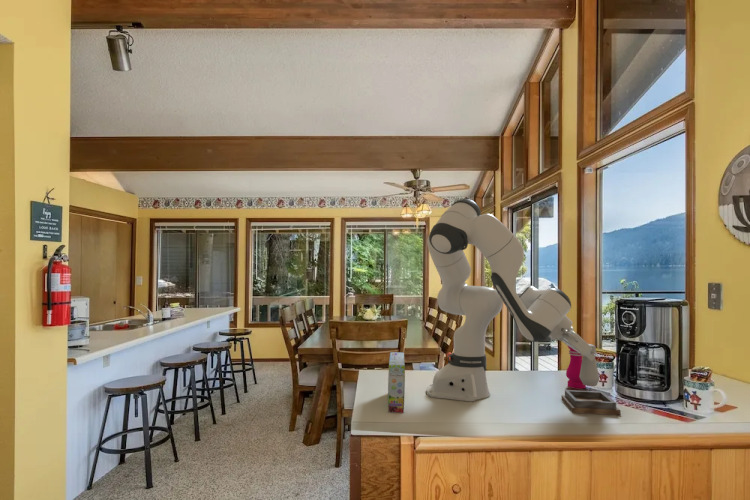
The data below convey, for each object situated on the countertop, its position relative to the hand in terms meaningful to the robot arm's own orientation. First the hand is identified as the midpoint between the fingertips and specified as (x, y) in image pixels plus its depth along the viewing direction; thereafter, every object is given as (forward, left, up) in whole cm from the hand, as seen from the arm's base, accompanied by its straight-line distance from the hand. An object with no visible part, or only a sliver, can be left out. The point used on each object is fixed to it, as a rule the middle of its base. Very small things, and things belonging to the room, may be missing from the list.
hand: (590, 357), depth 139 cm
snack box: (-63, -5, -16) cm, 66 cm away
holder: (-1, 0, -16) cm, 16 cm away
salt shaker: (-1, 0, -9) cm, 9 cm away
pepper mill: (+2, +25, -16) cm, 30 cm away
